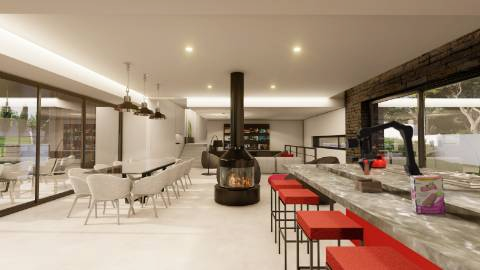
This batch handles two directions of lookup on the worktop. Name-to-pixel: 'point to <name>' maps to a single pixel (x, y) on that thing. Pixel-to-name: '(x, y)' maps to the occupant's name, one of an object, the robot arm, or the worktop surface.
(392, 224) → the worktop surface
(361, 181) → the bored tray
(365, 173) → the peg
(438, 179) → the candy bar box
